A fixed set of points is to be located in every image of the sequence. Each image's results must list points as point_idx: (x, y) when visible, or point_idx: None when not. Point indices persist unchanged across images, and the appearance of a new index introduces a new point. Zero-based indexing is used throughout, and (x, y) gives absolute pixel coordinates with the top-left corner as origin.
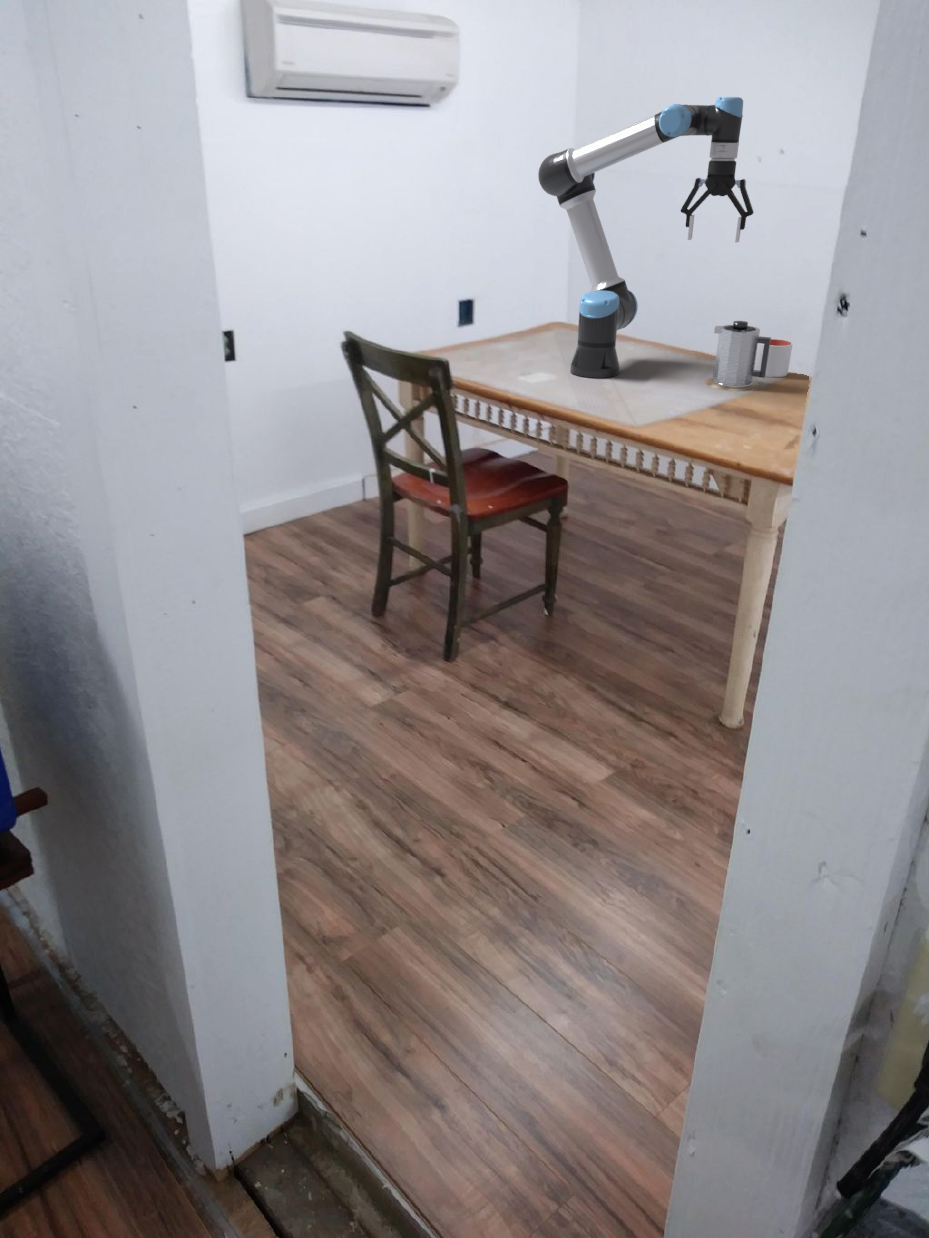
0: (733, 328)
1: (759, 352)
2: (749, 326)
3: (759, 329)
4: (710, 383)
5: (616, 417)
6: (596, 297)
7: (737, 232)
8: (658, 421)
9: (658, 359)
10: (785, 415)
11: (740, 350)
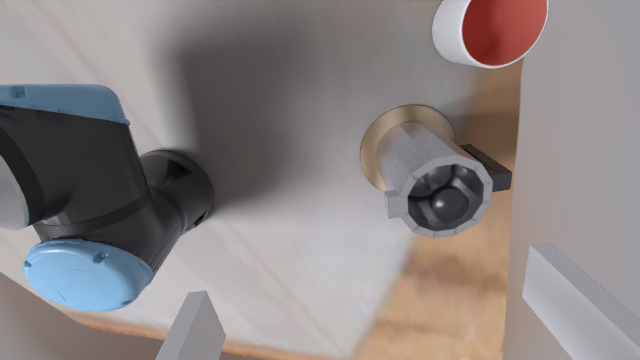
0: (431, 209)
1: (457, 56)
2: (464, 163)
3: (491, 185)
4: (373, 170)
5: (316, 346)
6: (85, 298)
7: (580, 355)
8: (362, 338)
9: (202, 13)
10: (500, 256)
11: None
